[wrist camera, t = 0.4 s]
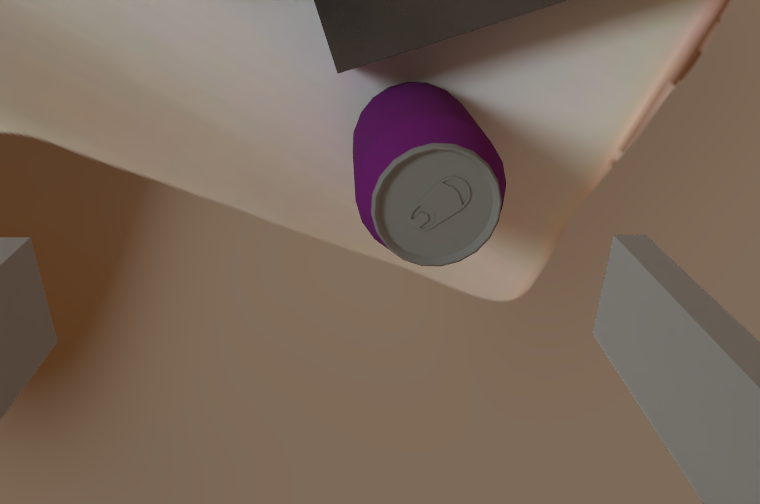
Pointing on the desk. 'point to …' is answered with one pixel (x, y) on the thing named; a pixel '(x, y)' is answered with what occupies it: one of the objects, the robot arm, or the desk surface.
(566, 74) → the desk surface
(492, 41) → the desk surface
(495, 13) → the mount plate
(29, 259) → the robot arm
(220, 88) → the desk surface
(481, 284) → the desk surface
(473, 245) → the beverage can
